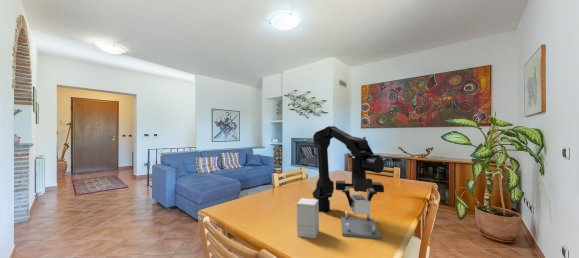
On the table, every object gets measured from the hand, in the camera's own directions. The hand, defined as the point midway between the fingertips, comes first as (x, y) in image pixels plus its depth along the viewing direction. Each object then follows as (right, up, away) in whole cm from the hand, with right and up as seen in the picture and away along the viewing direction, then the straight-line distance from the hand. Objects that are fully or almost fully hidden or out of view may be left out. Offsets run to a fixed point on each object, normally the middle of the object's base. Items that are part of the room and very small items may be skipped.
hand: (358, 207), depth 93 cm
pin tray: (0, -9, 0) cm, 9 cm away
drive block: (0, -1, 0) cm, 1 cm away
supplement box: (-21, -9, -5) cm, 24 cm away
